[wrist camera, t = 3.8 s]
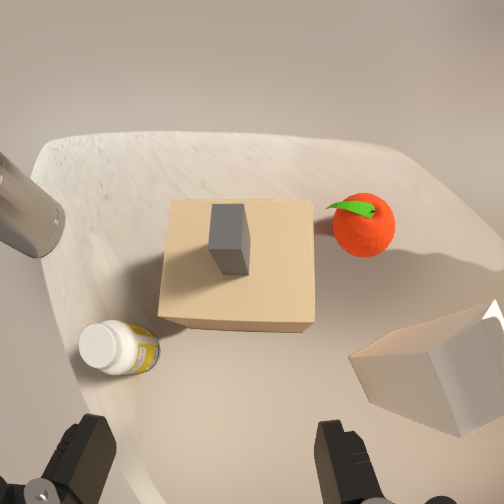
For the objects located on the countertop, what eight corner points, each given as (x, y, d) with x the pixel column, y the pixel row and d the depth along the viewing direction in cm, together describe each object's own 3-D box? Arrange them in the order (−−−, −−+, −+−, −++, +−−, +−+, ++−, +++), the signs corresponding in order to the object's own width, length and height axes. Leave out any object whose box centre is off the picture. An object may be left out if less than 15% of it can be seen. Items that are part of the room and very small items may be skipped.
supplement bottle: (113, 334, 34) (66, 324, 25) (153, 320, 34) (113, 306, 25) (127, 378, 32) (81, 381, 23) (167, 365, 33) (130, 367, 23)
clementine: (312, 252, 36) (321, 228, 29) (326, 201, 38) (336, 169, 31) (378, 272, 34) (400, 252, 28) (387, 219, 36) (408, 191, 30)
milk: (369, 402, 30) (490, 453, 9) (346, 355, 32) (454, 351, 11) (414, 374, 30) (558, 378, 9) (393, 329, 32) (528, 285, 11)
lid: (160, 316, 24) (124, 302, 18) (173, 203, 28) (149, 162, 21) (313, 323, 23) (328, 310, 17) (311, 203, 27) (321, 158, 20)
